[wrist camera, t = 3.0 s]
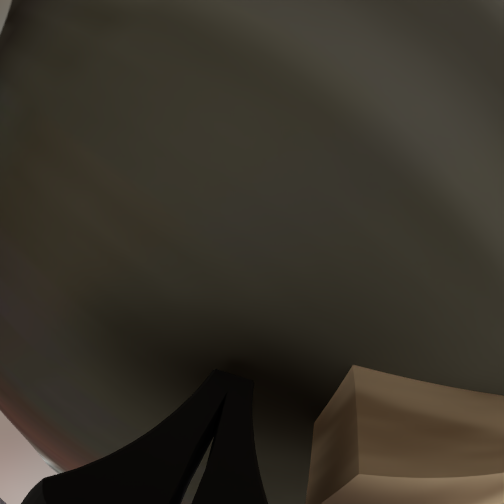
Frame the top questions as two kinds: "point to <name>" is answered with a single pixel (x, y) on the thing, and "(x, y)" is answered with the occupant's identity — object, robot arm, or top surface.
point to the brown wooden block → (407, 444)
